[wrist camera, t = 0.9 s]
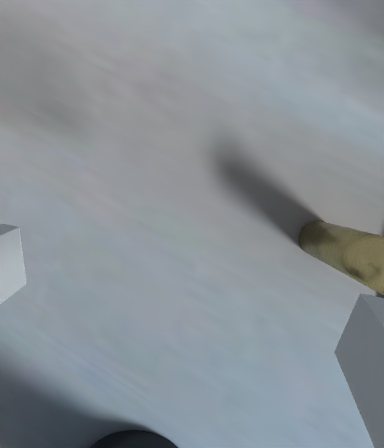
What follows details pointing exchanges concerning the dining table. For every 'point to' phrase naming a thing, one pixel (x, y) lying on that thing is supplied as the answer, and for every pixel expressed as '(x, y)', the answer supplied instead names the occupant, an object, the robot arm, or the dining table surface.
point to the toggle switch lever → (347, 251)
